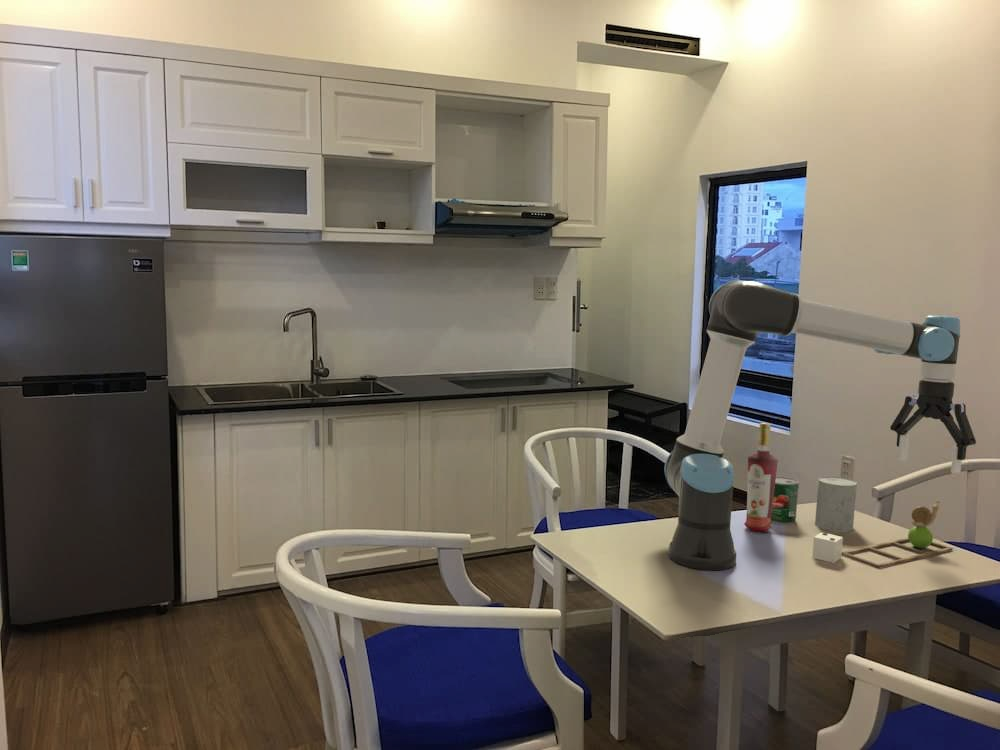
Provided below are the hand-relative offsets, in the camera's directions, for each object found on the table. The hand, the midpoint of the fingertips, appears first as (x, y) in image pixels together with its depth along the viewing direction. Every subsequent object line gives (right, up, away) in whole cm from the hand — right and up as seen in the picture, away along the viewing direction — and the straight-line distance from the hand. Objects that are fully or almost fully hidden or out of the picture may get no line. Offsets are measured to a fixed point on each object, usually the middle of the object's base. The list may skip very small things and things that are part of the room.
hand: (928, 466), depth 197 cm
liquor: (-38, -18, +12) cm, 44 cm away
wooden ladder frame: (-8, -21, -2) cm, 22 cm away
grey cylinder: (-16, -18, +18) cm, 30 cm away
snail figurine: (0, -20, +2) cm, 21 cm away
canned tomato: (-28, -17, +22) cm, 40 cm away
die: (-28, -21, -7) cm, 35 cm away
